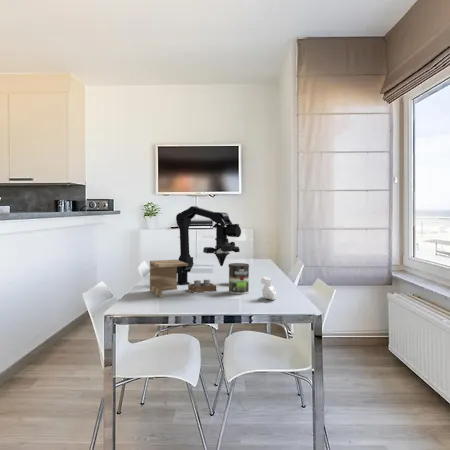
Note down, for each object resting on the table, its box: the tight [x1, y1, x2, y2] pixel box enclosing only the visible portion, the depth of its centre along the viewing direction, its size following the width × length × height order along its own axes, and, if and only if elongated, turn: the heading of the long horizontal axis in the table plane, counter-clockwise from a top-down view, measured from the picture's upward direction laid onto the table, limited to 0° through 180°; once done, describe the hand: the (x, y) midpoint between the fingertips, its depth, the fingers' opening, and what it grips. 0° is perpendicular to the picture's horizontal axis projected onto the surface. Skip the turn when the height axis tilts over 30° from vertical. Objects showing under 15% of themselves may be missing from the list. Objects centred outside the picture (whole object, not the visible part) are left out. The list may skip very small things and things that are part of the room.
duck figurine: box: [260, 276, 278, 301], centre depth 183 cm, size 12×8×11 cm
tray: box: [187, 279, 217, 293], centre depth 202 cm, size 9×12×5 cm
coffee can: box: [228, 262, 250, 295], centre depth 198 cm, size 10×10×14 cm
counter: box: [149, 259, 188, 299], centre depth 194 cm, size 18×14×15 cm
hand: (221, 266), depth 207 cm, fingers closed
